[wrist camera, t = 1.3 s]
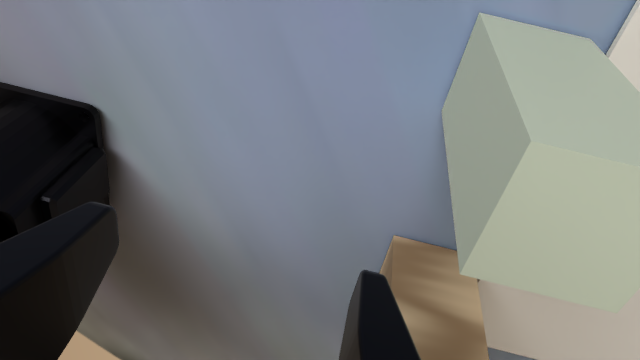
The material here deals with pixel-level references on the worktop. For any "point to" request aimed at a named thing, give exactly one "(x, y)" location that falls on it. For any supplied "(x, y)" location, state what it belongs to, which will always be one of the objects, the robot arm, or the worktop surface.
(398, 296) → the oak block
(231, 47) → the worktop surface
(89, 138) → the robot arm
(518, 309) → the mat
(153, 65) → the worktop surface
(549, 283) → the sage block
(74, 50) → the worktop surface
